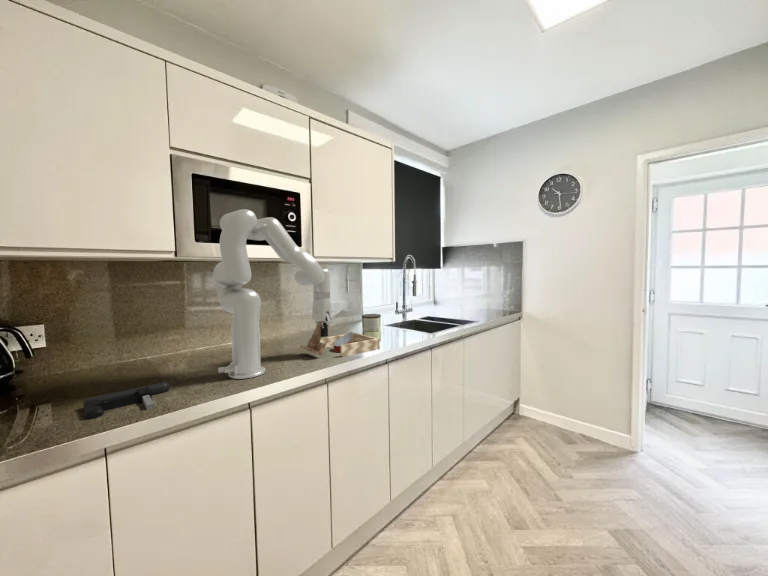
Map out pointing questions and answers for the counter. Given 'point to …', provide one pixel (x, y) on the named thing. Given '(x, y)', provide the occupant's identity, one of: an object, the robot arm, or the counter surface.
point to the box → (354, 344)
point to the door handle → (122, 399)
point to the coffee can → (371, 325)
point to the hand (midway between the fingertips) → (322, 335)
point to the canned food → (342, 341)
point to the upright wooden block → (315, 341)
